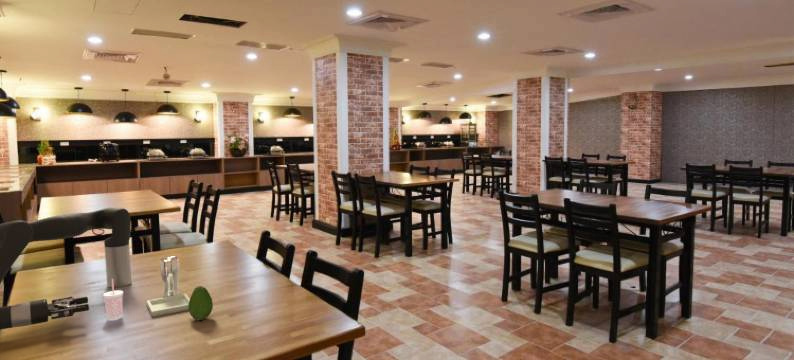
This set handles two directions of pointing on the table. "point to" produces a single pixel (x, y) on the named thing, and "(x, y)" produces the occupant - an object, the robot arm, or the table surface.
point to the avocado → (200, 303)
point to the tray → (168, 305)
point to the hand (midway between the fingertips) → (88, 303)
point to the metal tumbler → (170, 275)
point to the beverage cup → (113, 303)
